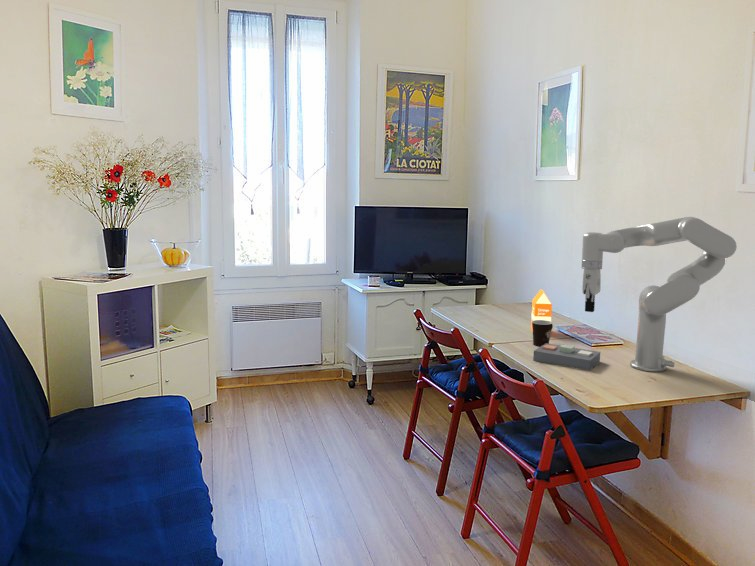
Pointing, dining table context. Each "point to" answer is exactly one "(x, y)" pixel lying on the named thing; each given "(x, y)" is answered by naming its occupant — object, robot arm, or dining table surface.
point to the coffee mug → (541, 332)
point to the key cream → (585, 353)
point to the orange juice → (541, 307)
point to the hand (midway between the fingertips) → (589, 311)
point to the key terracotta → (549, 347)
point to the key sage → (567, 349)
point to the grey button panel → (567, 358)
